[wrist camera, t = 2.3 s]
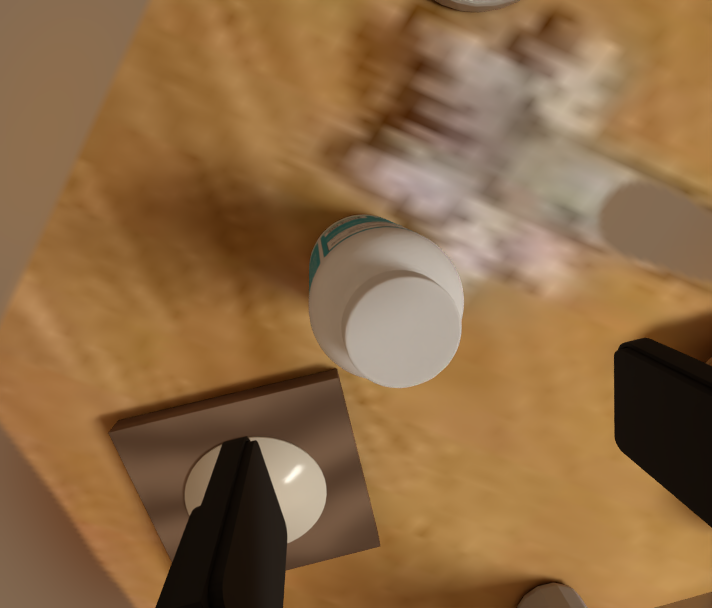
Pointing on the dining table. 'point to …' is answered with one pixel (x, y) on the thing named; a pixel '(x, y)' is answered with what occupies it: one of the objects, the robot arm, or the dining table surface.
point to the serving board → (281, 455)
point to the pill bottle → (384, 301)
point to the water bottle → (552, 597)
